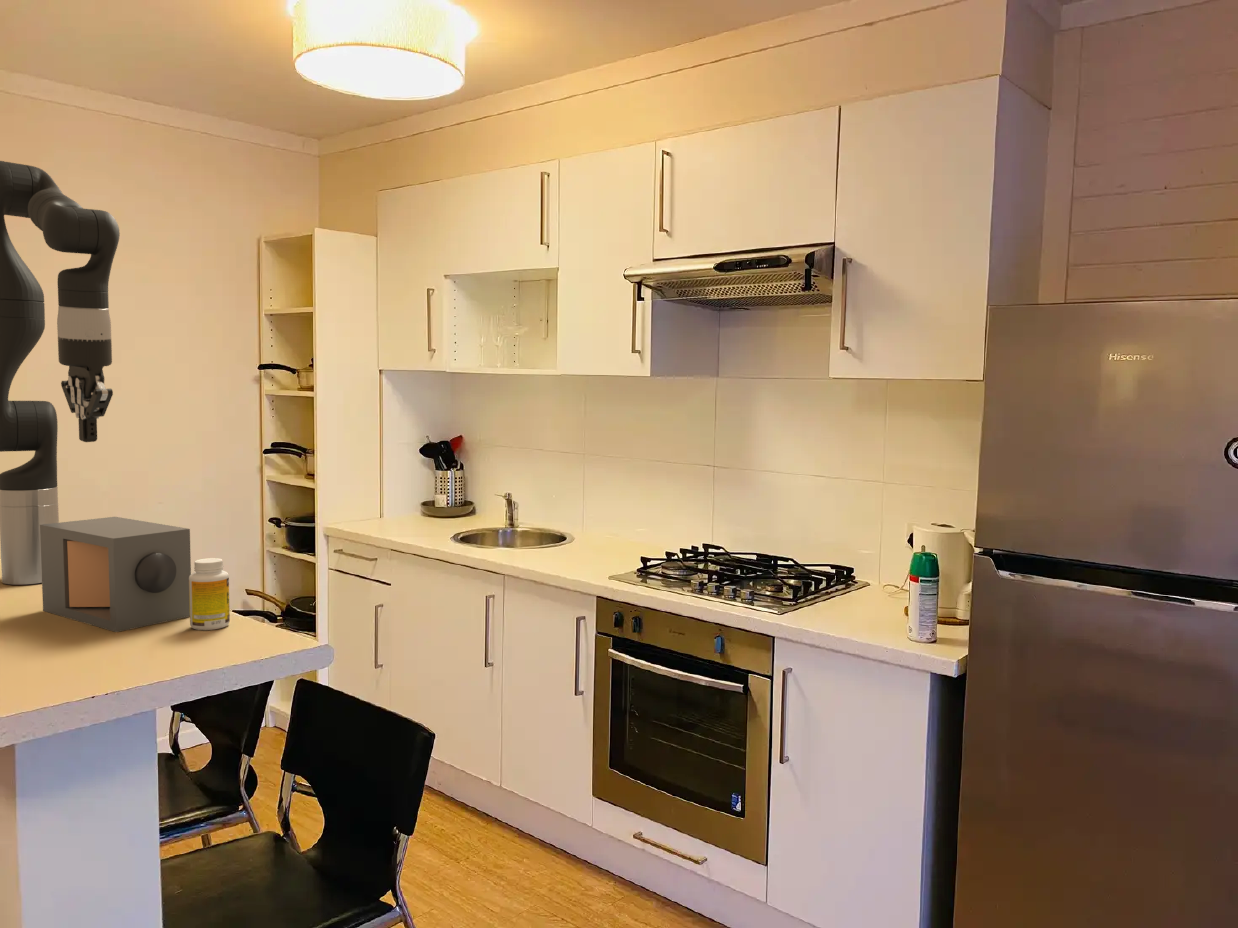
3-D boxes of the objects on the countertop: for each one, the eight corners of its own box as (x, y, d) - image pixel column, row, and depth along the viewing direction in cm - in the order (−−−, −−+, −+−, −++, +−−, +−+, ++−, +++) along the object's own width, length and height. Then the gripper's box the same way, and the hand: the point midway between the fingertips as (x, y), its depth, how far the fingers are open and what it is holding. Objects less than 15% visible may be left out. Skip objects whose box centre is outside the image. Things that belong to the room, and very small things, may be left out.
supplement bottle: (234, 627, 141) (233, 561, 140) (195, 633, 137) (194, 565, 136) (223, 620, 145) (222, 555, 144) (185, 625, 141) (184, 559, 141)
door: (67, 607, 144) (65, 541, 143) (72, 605, 146) (70, 539, 145) (148, 607, 145) (146, 541, 144) (153, 605, 146) (151, 540, 146)
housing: (43, 610, 149) (39, 524, 148) (117, 597, 159) (115, 516, 158) (119, 633, 137) (116, 539, 135) (195, 617, 147) (193, 529, 145)
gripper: (129, 339, 149) (131, 445, 152) (89, 331, 156) (92, 433, 159) (80, 339, 143) (83, 450, 146) (40, 331, 150) (45, 436, 153)
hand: (88, 441), depth 153 cm, fingers closed
